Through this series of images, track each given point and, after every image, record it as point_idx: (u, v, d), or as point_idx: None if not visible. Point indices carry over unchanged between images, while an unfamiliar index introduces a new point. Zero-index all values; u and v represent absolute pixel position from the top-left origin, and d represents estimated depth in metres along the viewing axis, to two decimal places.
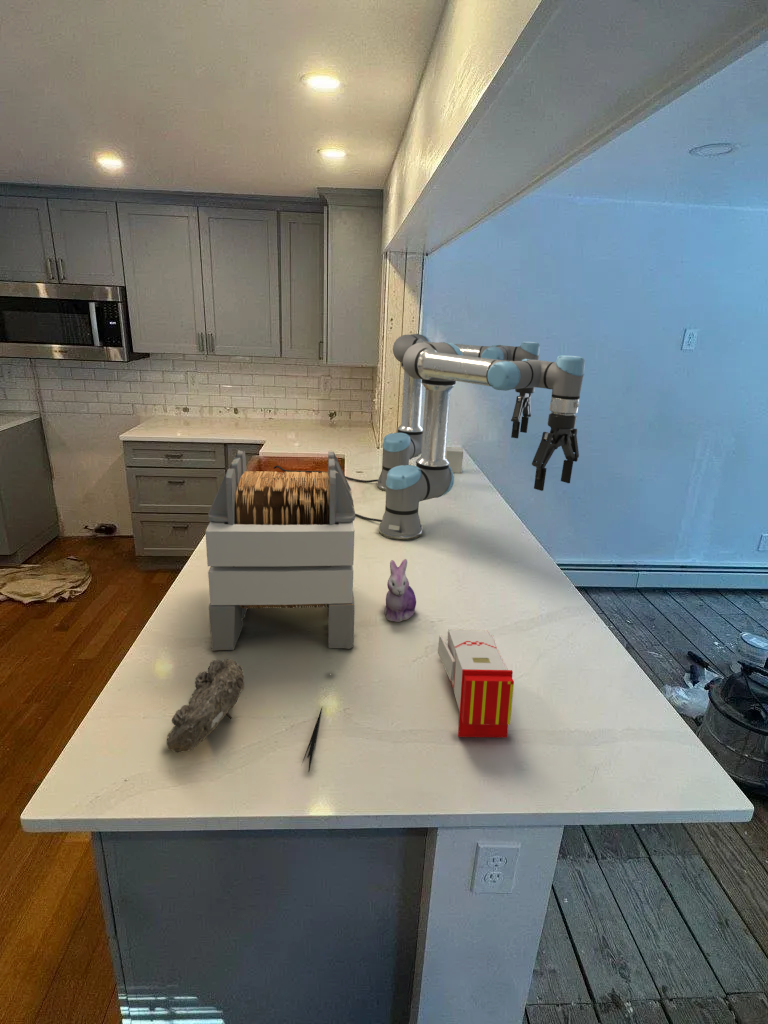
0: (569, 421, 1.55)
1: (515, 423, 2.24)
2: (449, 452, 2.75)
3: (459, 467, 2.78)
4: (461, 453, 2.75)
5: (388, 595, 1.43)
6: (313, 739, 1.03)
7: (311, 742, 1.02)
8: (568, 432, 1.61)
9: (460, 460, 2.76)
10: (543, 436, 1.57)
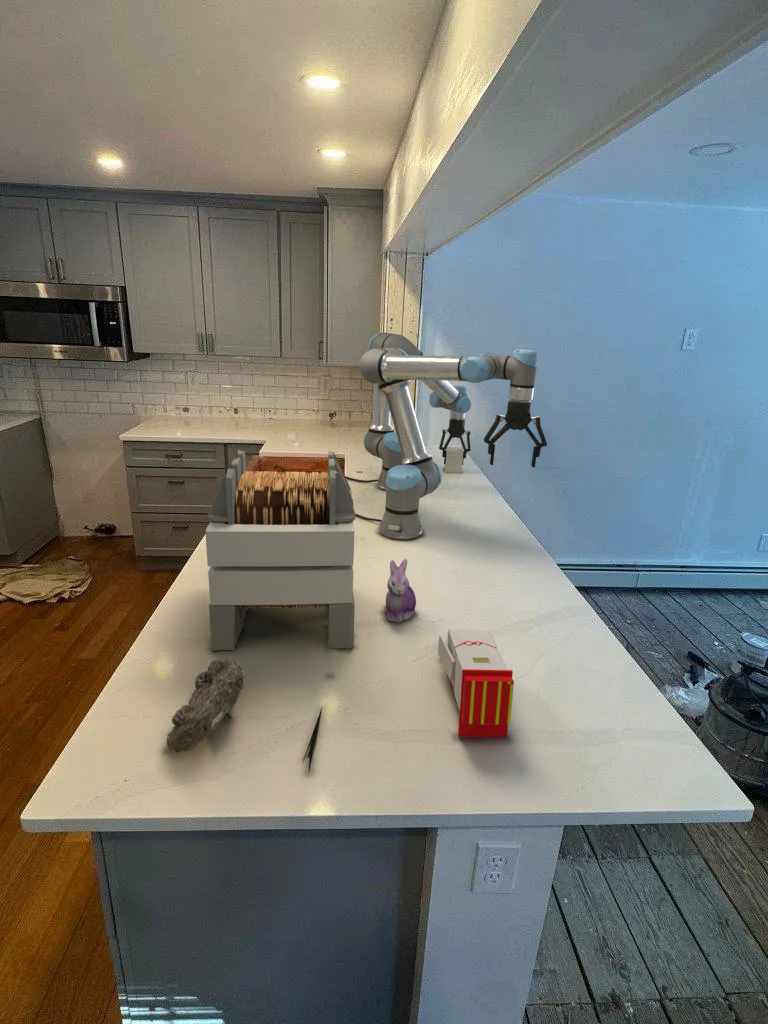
0: None
1: None
2: (449, 452, 2.75)
3: (459, 467, 2.78)
4: (461, 453, 2.75)
5: (388, 595, 1.43)
6: (313, 739, 1.03)
7: (311, 742, 1.02)
8: None
9: (460, 460, 2.76)
10: None
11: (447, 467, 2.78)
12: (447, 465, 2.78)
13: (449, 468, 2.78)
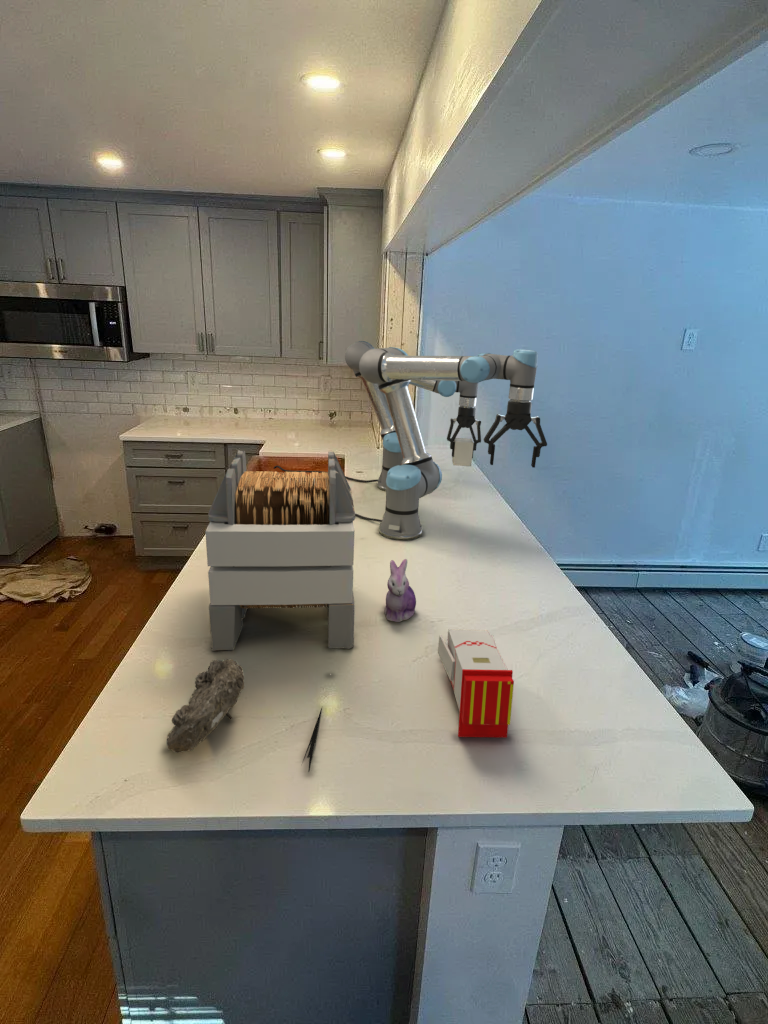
0: None
1: None
2: (458, 443, 2.52)
3: (469, 460, 2.54)
4: (471, 444, 2.52)
5: (388, 595, 1.43)
6: (313, 739, 1.03)
7: (311, 742, 1.02)
8: None
9: (470, 452, 2.53)
10: None
11: (456, 460, 2.54)
12: (456, 458, 2.54)
13: (457, 460, 2.54)
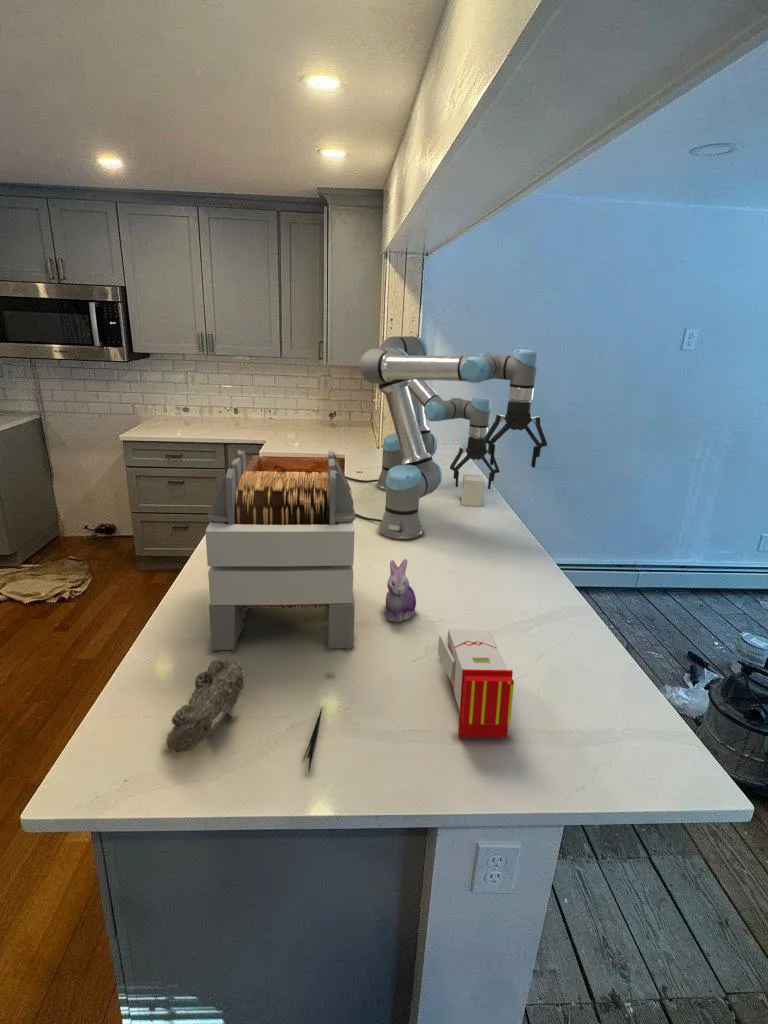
0: None
1: None
2: (467, 481, 2.29)
3: (480, 499, 2.31)
4: (482, 483, 2.29)
5: (388, 595, 1.43)
6: (313, 739, 1.03)
7: (311, 742, 1.02)
8: None
9: (480, 491, 2.30)
10: None
11: (465, 499, 2.32)
12: (465, 497, 2.31)
13: (467, 500, 2.32)
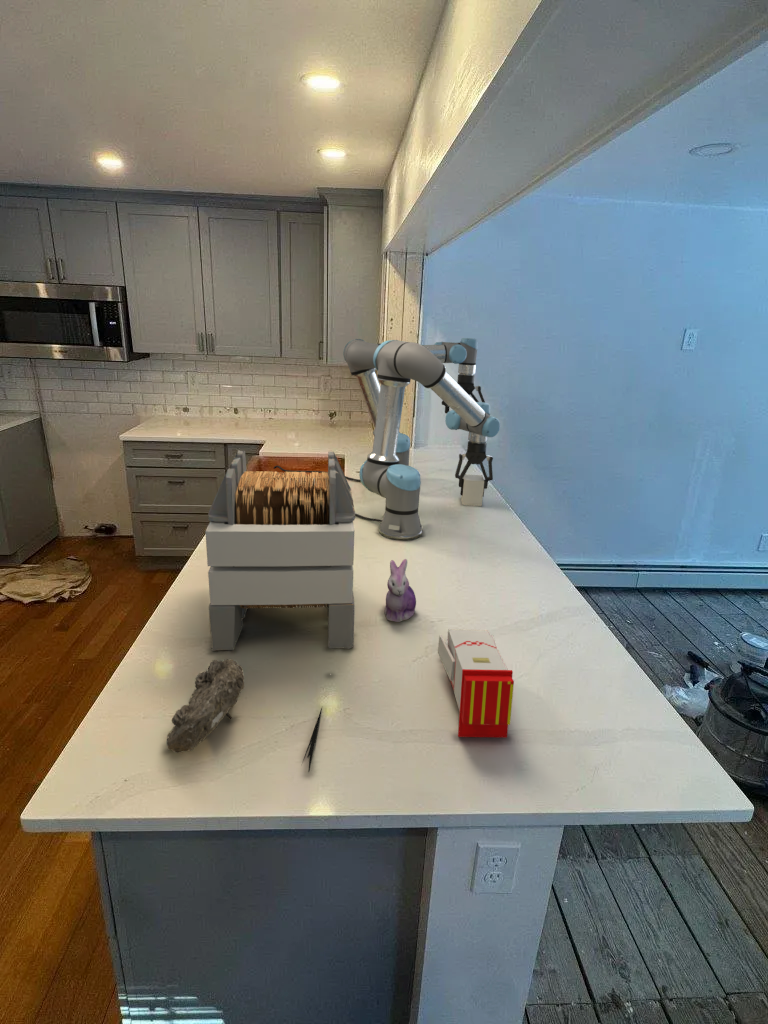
0: None
1: None
2: (467, 481, 2.29)
3: (480, 499, 2.31)
4: (482, 483, 2.29)
5: (388, 595, 1.43)
6: (313, 739, 1.03)
7: (311, 742, 1.02)
8: None
9: (480, 491, 2.30)
10: None
11: (465, 499, 2.32)
12: (465, 497, 2.31)
13: (467, 500, 2.32)
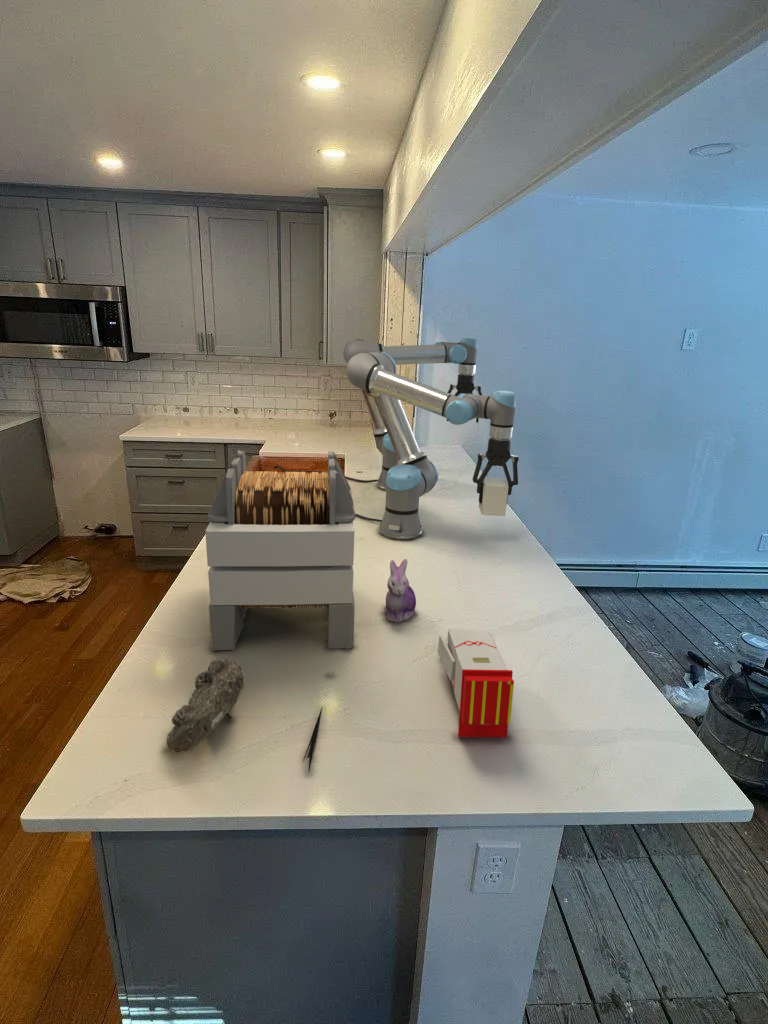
0: None
1: None
2: (488, 487, 1.91)
3: (503, 508, 1.93)
4: (505, 488, 1.90)
5: (388, 595, 1.43)
6: (313, 739, 1.03)
7: (311, 742, 1.02)
8: None
9: (504, 498, 1.92)
10: None
11: (485, 508, 1.93)
12: (485, 505, 1.93)
13: (487, 509, 1.93)
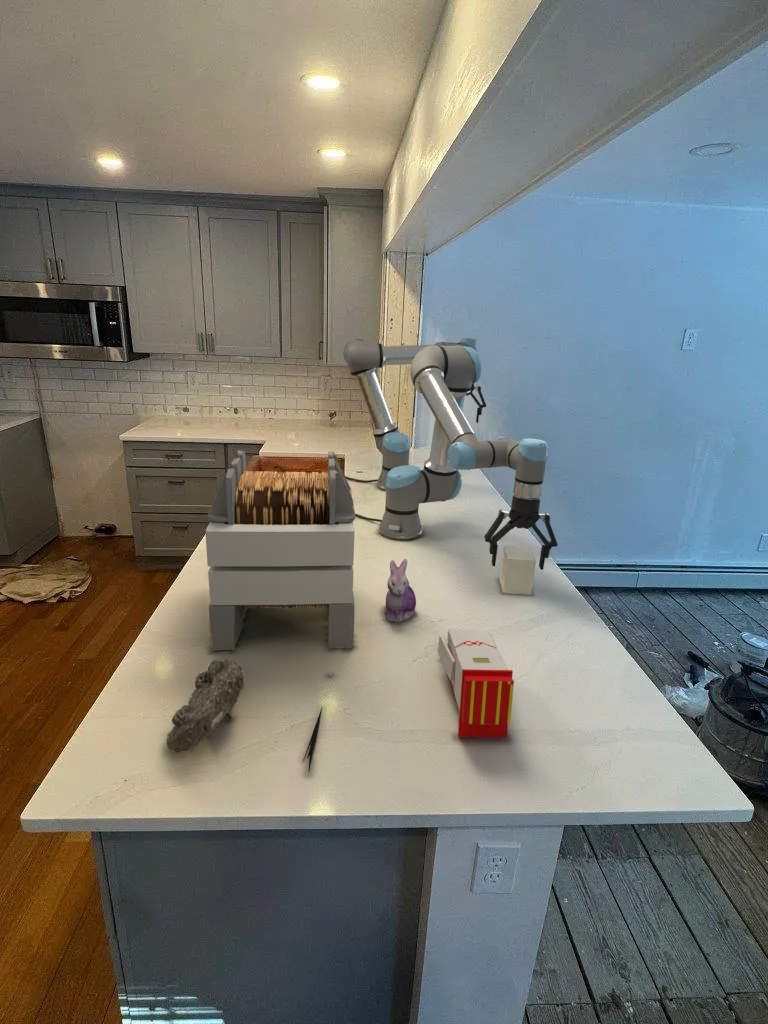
0: None
1: (481, 409, 2.58)
2: (511, 561, 1.58)
3: (529, 585, 1.60)
4: (532, 563, 1.57)
5: (388, 595, 1.43)
6: (313, 739, 1.03)
7: (311, 742, 1.02)
8: None
9: (530, 574, 1.59)
10: None
11: (507, 585, 1.60)
12: (507, 582, 1.60)
13: (510, 586, 1.60)
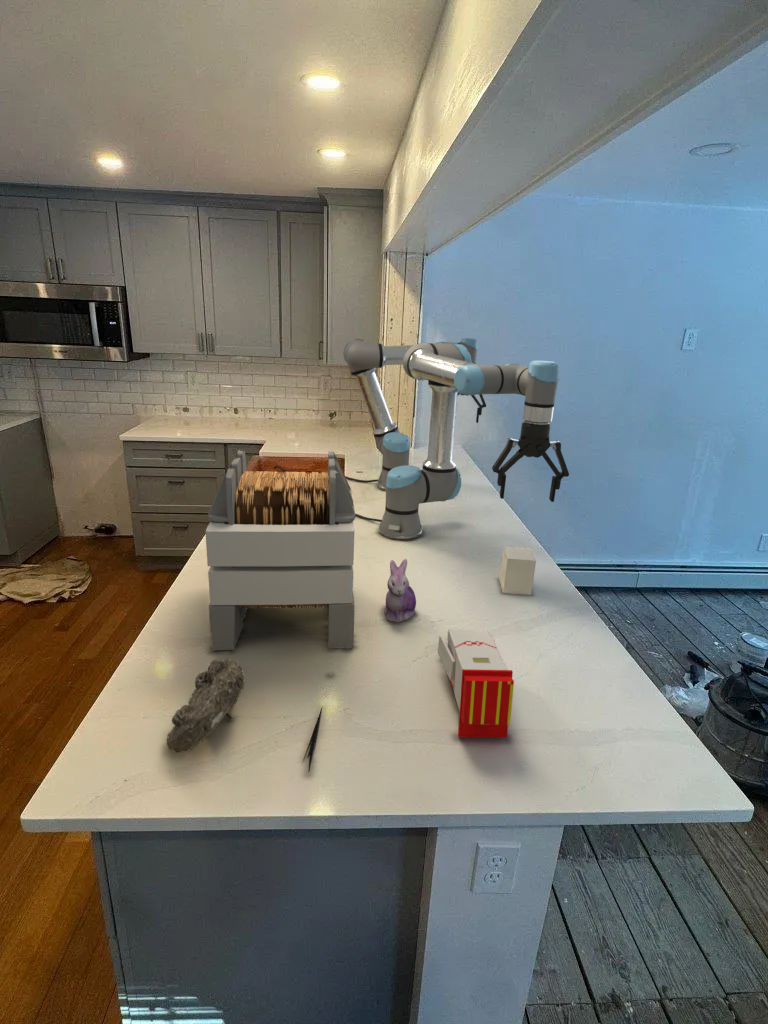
0: None
1: (481, 409, 2.58)
2: (511, 561, 1.58)
3: (529, 585, 1.60)
4: (532, 563, 1.57)
5: (388, 595, 1.43)
6: (313, 739, 1.03)
7: (311, 742, 1.02)
8: None
9: (530, 574, 1.59)
10: None
11: (507, 585, 1.60)
12: (507, 582, 1.60)
13: (510, 586, 1.60)
